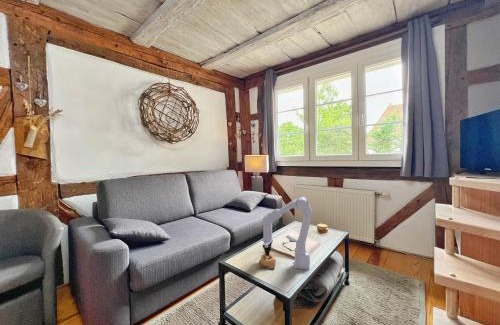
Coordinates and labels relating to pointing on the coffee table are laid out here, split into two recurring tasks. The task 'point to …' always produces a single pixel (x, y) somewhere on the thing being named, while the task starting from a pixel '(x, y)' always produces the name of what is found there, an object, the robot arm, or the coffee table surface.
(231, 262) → the coffee table surface
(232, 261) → the coffee table surface
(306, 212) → the robot arm
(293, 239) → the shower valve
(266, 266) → the walnut base board
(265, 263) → the cord coil ring
